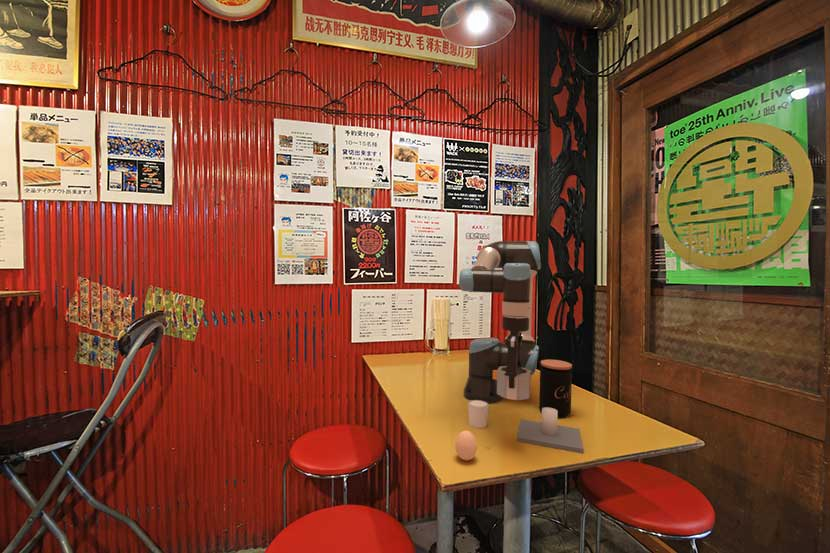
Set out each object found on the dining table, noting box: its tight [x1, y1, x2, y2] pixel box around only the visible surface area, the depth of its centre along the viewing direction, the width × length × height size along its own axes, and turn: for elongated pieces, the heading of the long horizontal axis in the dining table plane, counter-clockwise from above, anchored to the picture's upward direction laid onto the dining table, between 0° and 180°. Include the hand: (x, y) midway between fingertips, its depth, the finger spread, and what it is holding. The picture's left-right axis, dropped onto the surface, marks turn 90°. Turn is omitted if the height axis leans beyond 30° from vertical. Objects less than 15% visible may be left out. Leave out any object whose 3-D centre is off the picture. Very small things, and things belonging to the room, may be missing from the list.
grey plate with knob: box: [516, 407, 584, 454], centre depth 109 cm, size 18×14×8 cm
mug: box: [493, 366, 532, 401], centre depth 104 cm, size 10×9×7 cm
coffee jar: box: [538, 359, 573, 419], centre depth 128 cm, size 11×11×18 cm
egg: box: [454, 430, 478, 461], centre depth 95 cm, size 6×6×8 cm
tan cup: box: [467, 400, 490, 429], centre depth 117 cm, size 7×7×7 cm
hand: (513, 393), depth 103 cm, fingers closed on mug, 9 cm apart
